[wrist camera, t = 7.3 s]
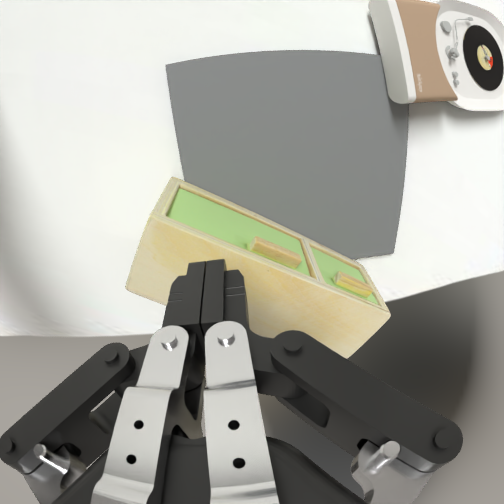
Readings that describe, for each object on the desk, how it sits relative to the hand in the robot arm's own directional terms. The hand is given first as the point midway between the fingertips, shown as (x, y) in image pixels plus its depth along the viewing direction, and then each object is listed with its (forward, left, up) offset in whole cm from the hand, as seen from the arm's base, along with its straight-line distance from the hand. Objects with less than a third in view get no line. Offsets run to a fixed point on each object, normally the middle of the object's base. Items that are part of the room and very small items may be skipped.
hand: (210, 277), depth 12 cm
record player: (-12, +24, -14) cm, 30 cm away
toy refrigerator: (+1, -6, -10) cm, 11 cm away
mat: (0, +7, -14) cm, 16 cm away
